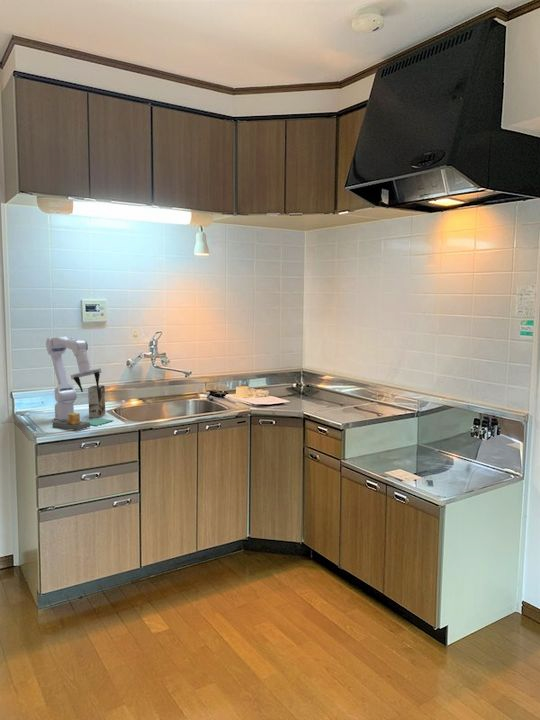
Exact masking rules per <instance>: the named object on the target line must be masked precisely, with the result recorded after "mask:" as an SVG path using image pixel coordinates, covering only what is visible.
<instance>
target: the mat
mask: <svg viewBox="0 0 540 720" xmlns="http://www.w3.org/2000/svg"><path fill="white" fill-rule="evenodd" d="M82 421H83V422H90V426H91V425H92V427H99V426H98V425H100V426H103V425H106V424H110V423H113V422H114V420H113V419H106V418H102V417H93V418H89V419H87V420H82ZM112 421H113V422H112ZM109 422H110V423H109ZM102 424H103V425H102Z"/></svg>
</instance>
